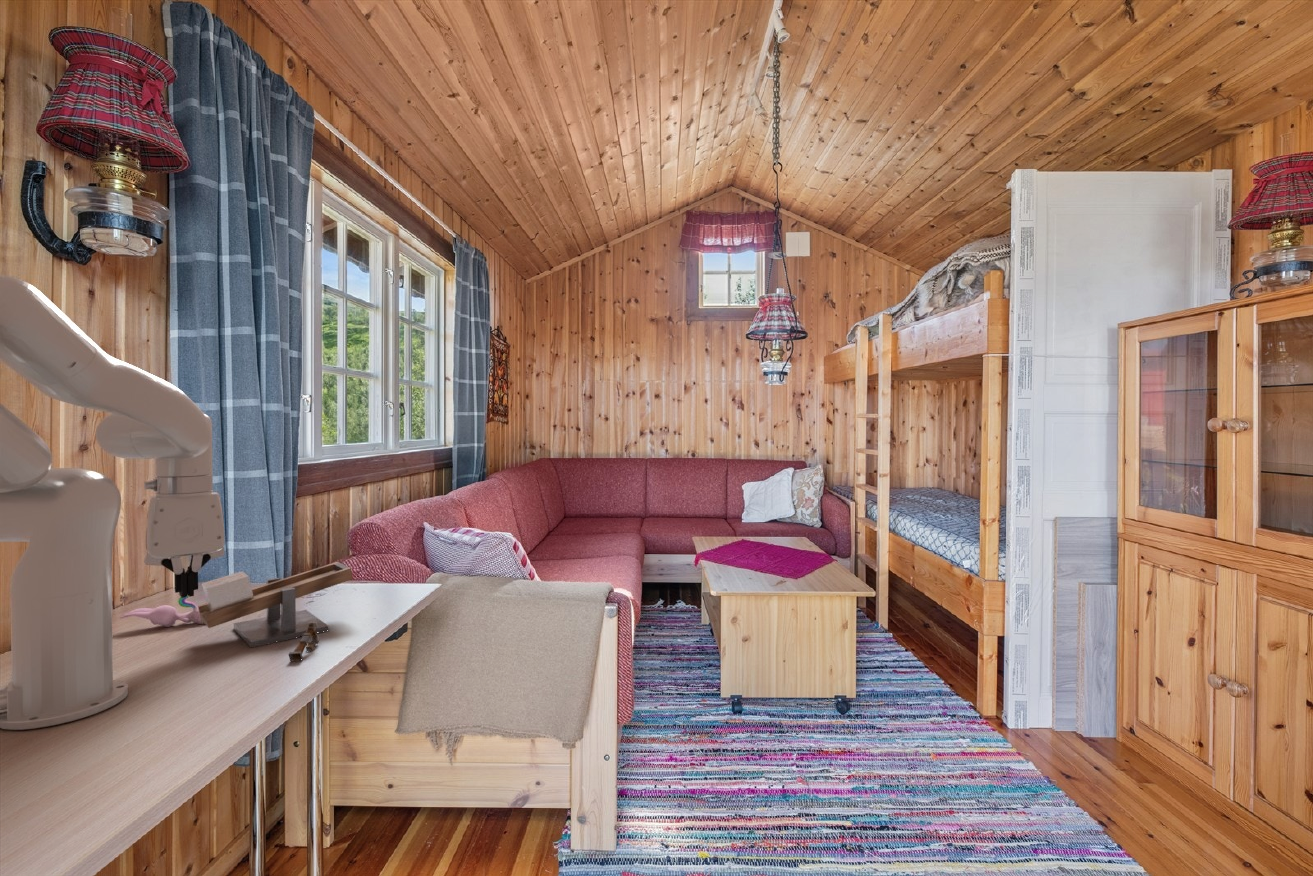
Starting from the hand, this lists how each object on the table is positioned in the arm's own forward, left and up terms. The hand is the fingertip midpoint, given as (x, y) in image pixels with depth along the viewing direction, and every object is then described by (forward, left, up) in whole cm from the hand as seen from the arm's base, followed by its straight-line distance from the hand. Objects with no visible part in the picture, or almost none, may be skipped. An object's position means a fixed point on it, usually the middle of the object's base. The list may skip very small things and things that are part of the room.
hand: (186, 595), depth 102 cm
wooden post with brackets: (+13, -16, -9) cm, 23 cm away
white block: (+6, 0, -3) cm, 7 cm away
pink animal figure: (0, +17, -9) cm, 20 cm away
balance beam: (+14, 0, -3) cm, 14 cm away
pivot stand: (+14, 0, -9) cm, 16 cm away
